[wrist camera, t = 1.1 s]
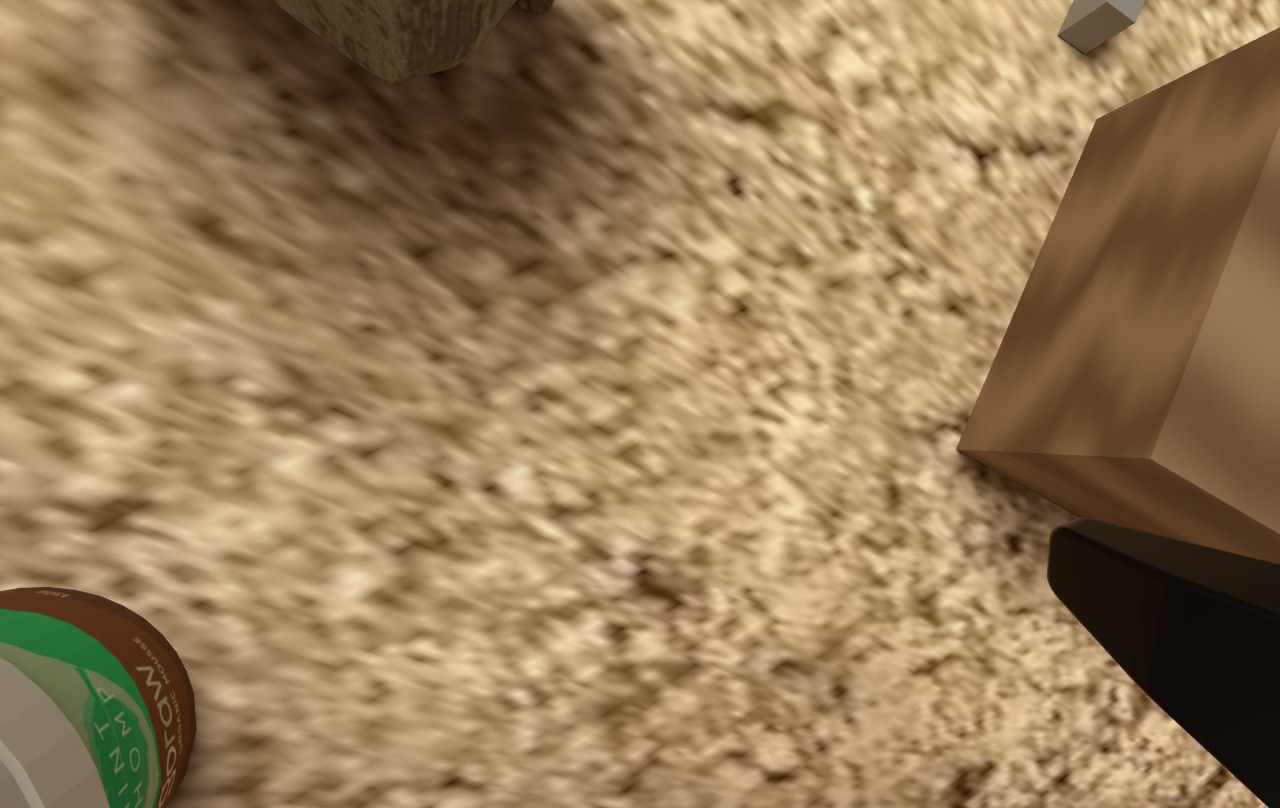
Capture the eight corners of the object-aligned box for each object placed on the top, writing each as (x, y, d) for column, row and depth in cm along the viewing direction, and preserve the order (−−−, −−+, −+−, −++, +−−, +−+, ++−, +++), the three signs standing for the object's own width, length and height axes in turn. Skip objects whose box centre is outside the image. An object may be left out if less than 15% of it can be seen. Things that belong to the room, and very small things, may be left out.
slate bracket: (1319, 225, 34) (1384, 209, 31) (1058, 34, 31) (1107, 1, 29) (1392, 41, 35) (1459, 13, 33) (1147, -157, 33) (1201, -204, 30)
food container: (295, 827, 24) (165, 1102, 14) (97, 920, 23) (-197, 1293, 13) (152, 481, 23) (-87, 520, 14) (-59, 557, 22) (-491, 660, 12)
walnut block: (1119, 540, 31) (1367, 585, 23) (953, 448, 30) (1150, 458, 21) (1243, 222, 33) (1516, 149, 24) (1093, 120, 32) (1327, 3, 23)
